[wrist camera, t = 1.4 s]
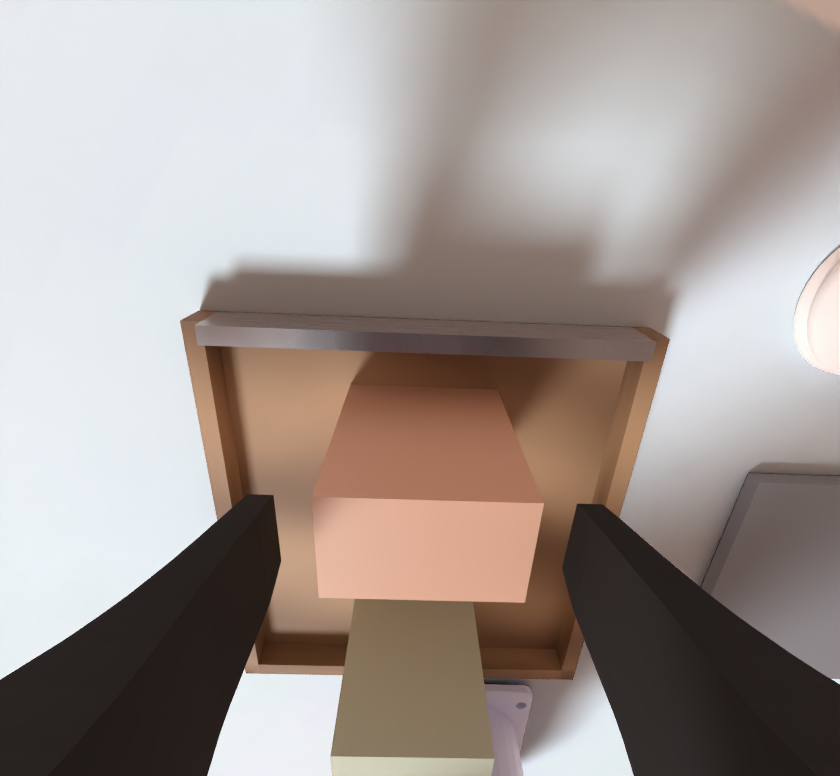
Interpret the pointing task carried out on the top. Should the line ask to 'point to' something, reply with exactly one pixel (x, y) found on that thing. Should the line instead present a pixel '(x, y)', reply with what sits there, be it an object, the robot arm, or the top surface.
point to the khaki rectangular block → (412, 692)
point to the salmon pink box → (425, 499)
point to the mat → (785, 564)
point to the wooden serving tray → (417, 367)
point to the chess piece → (820, 317)
